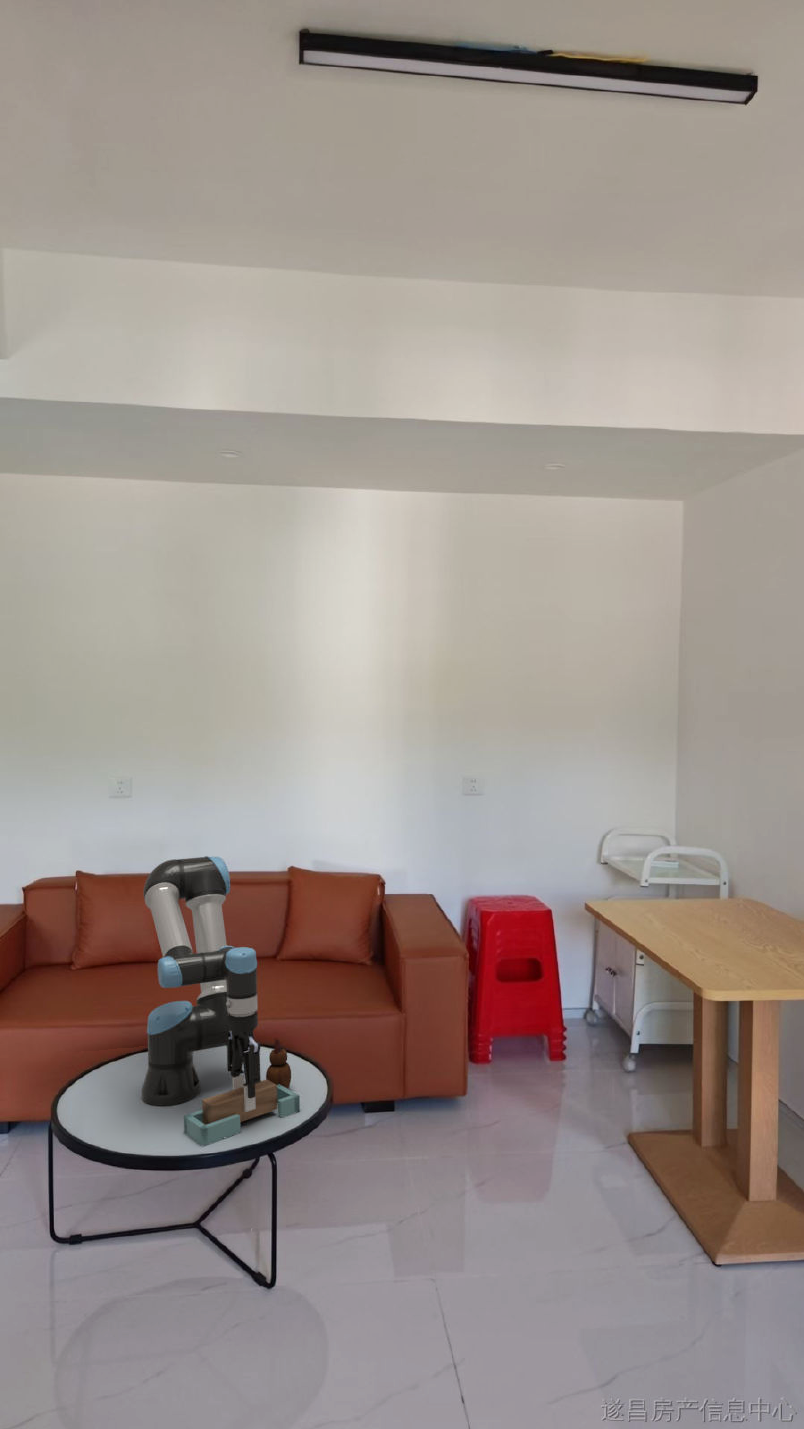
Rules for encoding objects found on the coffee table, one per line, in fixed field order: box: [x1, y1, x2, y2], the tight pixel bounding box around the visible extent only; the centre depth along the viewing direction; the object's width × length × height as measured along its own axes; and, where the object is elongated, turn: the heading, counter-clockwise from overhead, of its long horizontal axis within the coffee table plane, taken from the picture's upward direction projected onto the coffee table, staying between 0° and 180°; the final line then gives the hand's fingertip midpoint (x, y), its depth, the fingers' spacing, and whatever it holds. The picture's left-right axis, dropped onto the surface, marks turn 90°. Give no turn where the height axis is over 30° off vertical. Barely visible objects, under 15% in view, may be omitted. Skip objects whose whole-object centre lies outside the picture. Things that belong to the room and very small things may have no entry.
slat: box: [201, 1078, 278, 1125], centre depth 213 cm, size 5×18×6 cm, turn 129°
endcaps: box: [183, 1084, 301, 1147], centre depth 213 cm, size 10×27×4 cm, turn 130°
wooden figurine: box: [265, 1037, 292, 1089], centre depth 230 cm, size 7×6×15 cm
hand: (244, 1105), depth 213 cm, fingers closed on slat, 5 cm apart
